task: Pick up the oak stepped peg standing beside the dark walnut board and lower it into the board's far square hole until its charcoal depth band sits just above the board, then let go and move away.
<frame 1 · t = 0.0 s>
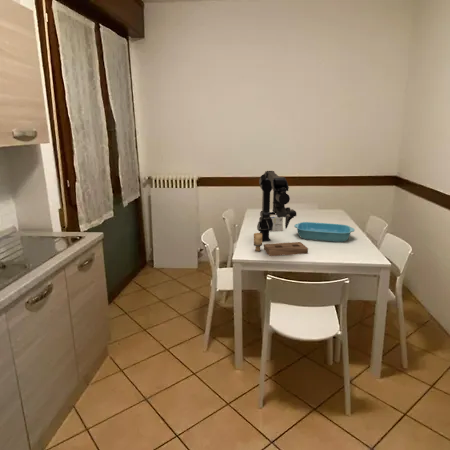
hand: (277, 229, 199), 15 cm above the table, fingers open, 9 cm apart
walnut board: (285, 251, 208), on the table
casserole dish: (323, 237, 233), on the table
light bulb box: (274, 230, 251), on the table
oak peg: (257, 250, 209), on the table
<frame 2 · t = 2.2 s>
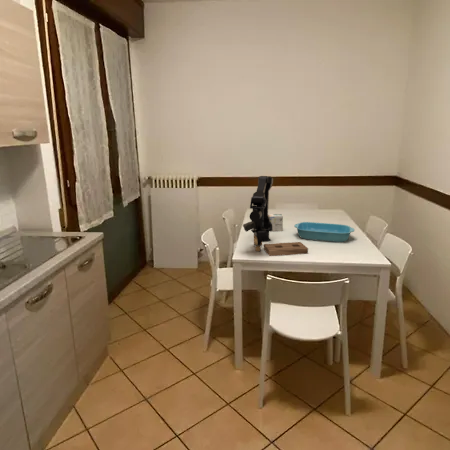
hand: (258, 244, 208), 4 cm above the table, fingers closed on oak peg, 5 cm apart
oak peg: (257, 250, 209), on the table, touching gripper
everything else where it was.
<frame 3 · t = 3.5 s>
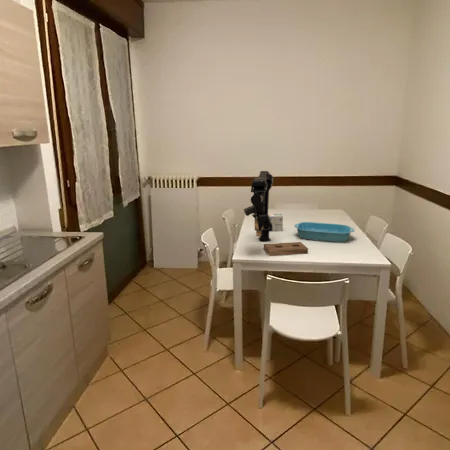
hand: (258, 228, 206), 13 cm above the table, fingers closed on oak peg, 5 cm apart
oak peg: (258, 235, 207), point 9 cm above the table, touching gripper
everything else where it was.
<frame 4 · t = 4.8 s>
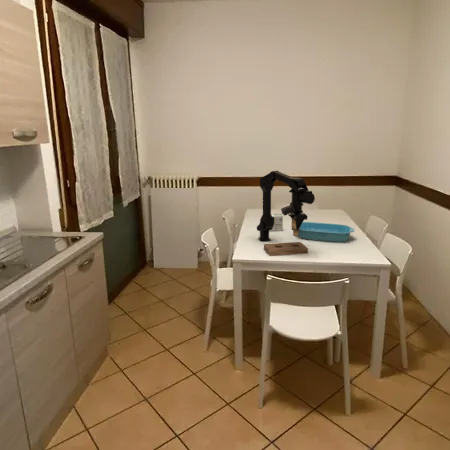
hand: (295, 228, 205), 13 cm above the table, fingers closed on oak peg, 5 cm apart
oak peg: (295, 235, 206), point 9 cm above the table, touching gripper
everything else where it was.
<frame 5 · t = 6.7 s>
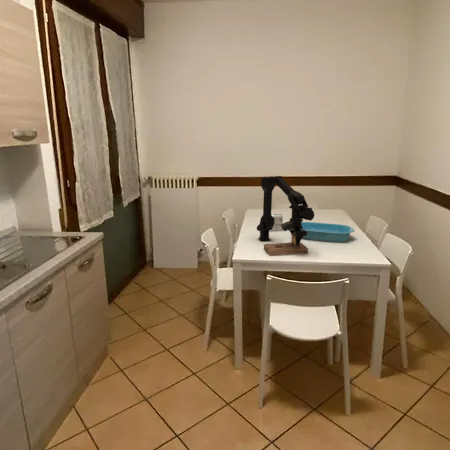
hand: (295, 243, 207), 4 cm above the table, fingers closed on oak peg, 5 cm apart
oak peg: (295, 250, 208), resting in walnut board, touching gripper
everything else where it was.
when the fingers open (4 cm above the table, at t = 7.8 s): oak peg stays where it is, resting in walnut board.
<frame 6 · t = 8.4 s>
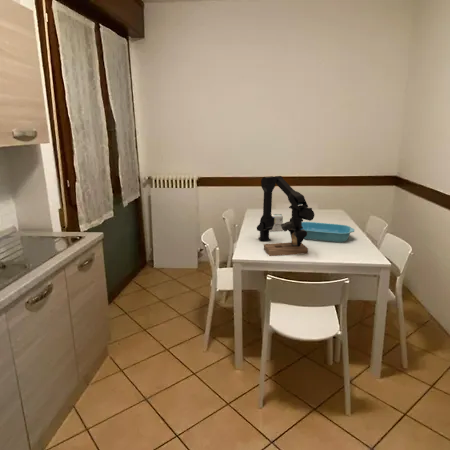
hand: (295, 243, 207), 4 cm above the table, fingers open, 9 cm apart
oak peg: (295, 250, 208), resting in walnut board
everything else where it was.
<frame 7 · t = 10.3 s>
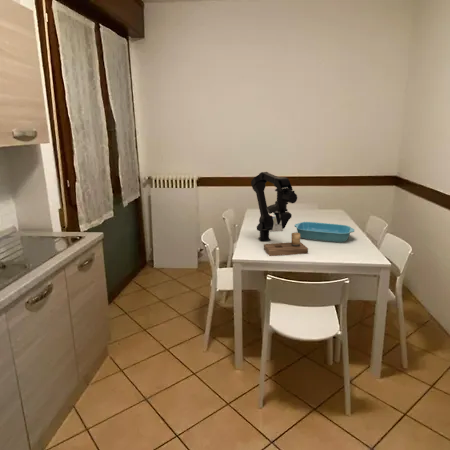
hand: (280, 226, 212), 13 cm above the table, fingers open, 9 cm apart
nothing on the table moved.
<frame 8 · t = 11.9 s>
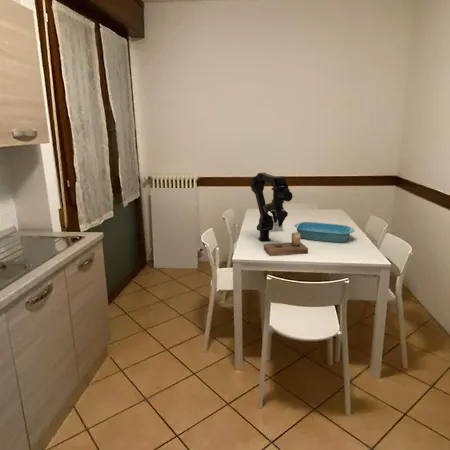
hand: (277, 224, 213), 13 cm above the table, fingers open, 9 cm apart
nothing on the table moved.
at the end: oak peg 0.0 cm from the target spot on the walnut board, point 0.0 cm above the walnut board's base; oak peg tilted 0°; the gripper is holding nothing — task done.
